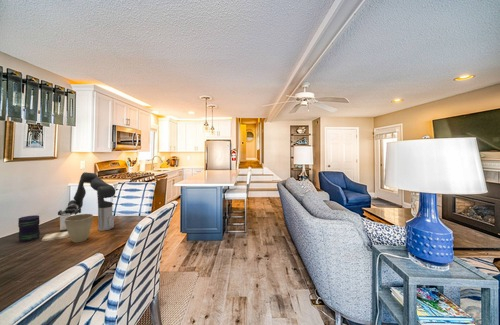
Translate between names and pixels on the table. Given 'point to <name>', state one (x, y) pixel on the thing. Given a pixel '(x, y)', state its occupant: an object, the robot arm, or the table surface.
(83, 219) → the plant pot
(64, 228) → the aluminium block
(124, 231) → the table surface
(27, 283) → the table surface
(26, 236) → the storage jar
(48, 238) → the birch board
